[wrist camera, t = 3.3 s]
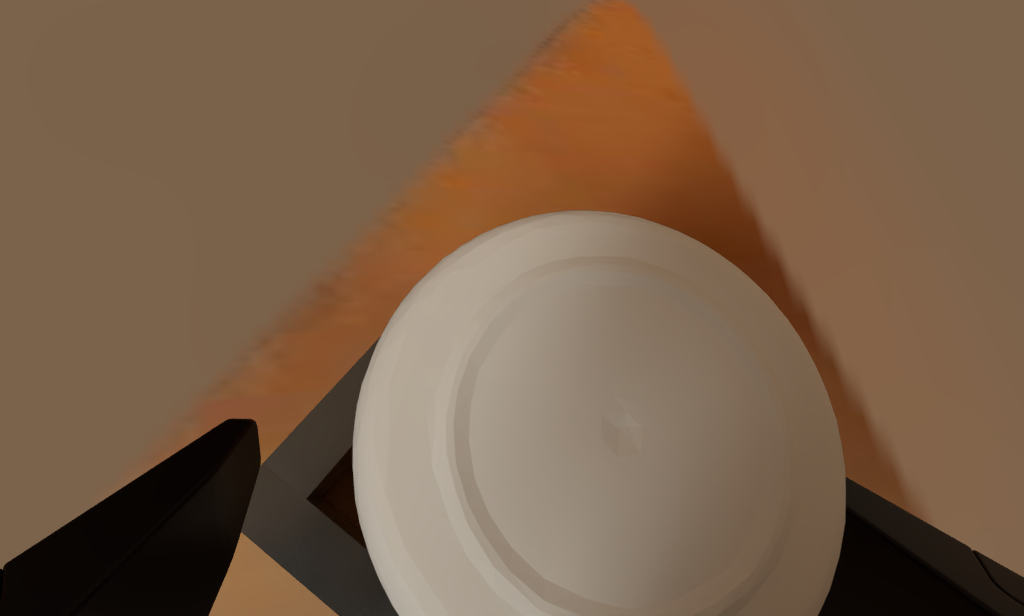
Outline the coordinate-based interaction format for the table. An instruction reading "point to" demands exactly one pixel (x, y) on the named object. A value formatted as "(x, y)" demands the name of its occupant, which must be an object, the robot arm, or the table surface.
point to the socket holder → (318, 506)
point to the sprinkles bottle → (596, 433)
